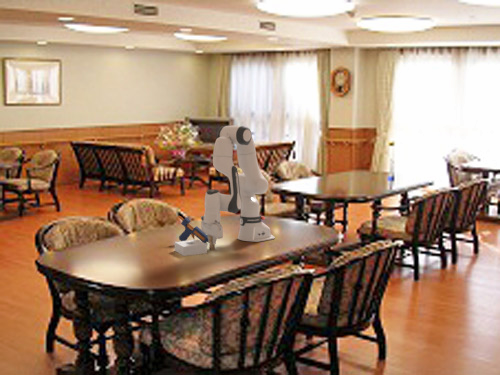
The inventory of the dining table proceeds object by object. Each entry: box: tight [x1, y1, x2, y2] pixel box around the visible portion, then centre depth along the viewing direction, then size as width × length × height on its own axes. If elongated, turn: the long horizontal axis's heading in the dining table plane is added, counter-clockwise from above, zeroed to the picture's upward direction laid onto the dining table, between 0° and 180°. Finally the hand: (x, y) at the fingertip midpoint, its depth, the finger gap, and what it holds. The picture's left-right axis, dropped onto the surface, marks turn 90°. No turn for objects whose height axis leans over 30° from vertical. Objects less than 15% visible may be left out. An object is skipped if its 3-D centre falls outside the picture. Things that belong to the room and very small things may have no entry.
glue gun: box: [178, 215, 209, 244], centre depth 387 cm, size 5×25×12 cm
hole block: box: [174, 239, 208, 257], centre depth 365 cm, size 14×12×5 cm
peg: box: [208, 235, 216, 251], centre depth 371 cm, size 3×3×10 cm
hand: (212, 243), depth 371 cm, fingers closed on peg, 3 cm apart
